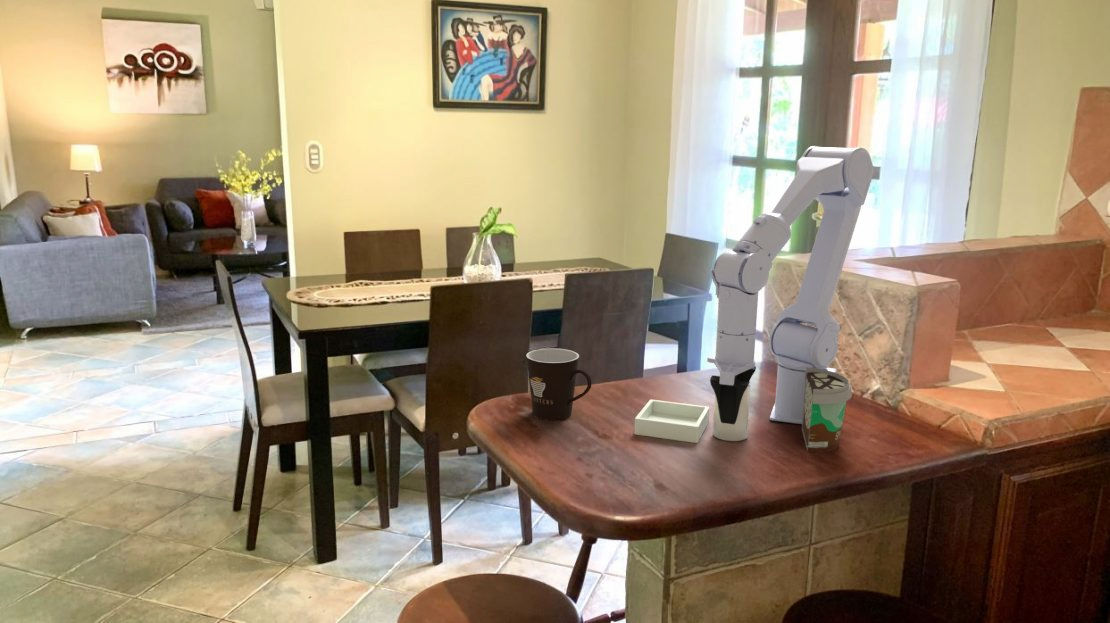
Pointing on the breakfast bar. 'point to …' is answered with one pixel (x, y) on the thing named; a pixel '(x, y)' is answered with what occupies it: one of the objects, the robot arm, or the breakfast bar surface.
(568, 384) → the coffee mug
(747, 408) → the cup
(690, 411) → the tray
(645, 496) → the breakfast bar surface
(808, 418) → the food container
